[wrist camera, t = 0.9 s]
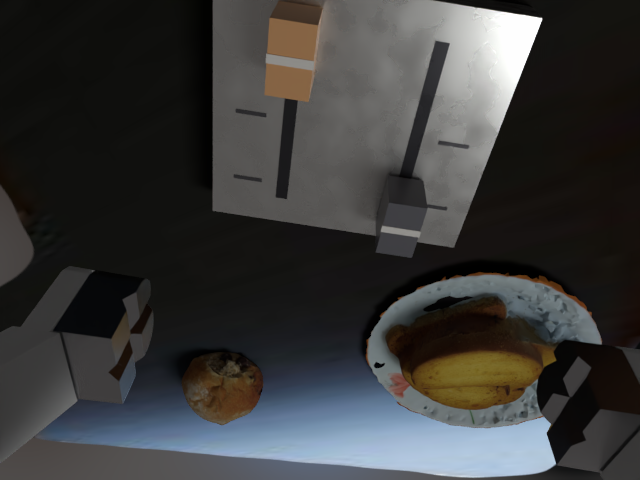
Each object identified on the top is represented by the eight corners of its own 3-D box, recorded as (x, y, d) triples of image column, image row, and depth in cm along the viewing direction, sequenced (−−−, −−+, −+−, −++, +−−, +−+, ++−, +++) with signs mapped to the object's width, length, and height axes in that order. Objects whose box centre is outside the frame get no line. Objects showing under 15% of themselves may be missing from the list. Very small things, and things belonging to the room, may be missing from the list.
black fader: (386, 175, 42) (388, 203, 39) (424, 180, 42) (428, 209, 39) (374, 223, 45) (375, 252, 42) (409, 228, 45) (412, 258, 42)
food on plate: (447, 429, 70) (453, 475, 65) (323, 332, 60) (318, 379, 55) (636, 356, 58) (660, 406, 53) (519, 220, 48) (536, 266, 43)
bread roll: (188, 339, 68) (154, 395, 64) (229, 338, 61) (194, 401, 57) (241, 377, 73) (213, 432, 68) (285, 381, 65) (256, 442, 61)
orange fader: (278, 0, 35) (268, 17, 31) (323, 7, 35) (318, 25, 31) (272, 72, 38) (263, 95, 34) (314, 79, 38) (309, 102, 35)
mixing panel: (223, -45, 36) (212, -36, 34) (531, 6, 36) (542, 18, 34) (220, 192, 48) (212, 211, 46) (449, 227, 49) (453, 248, 47)
